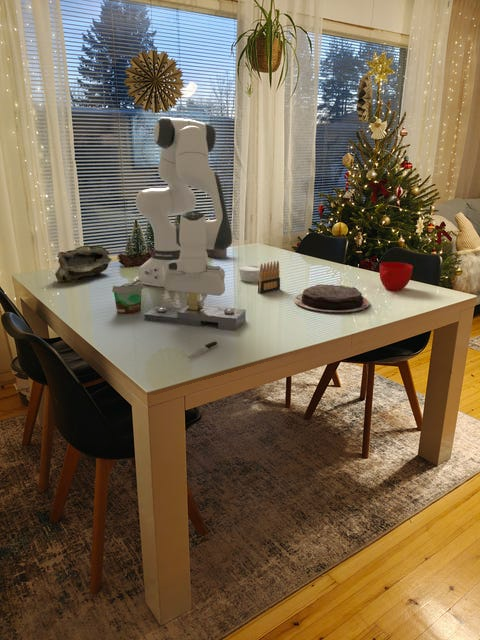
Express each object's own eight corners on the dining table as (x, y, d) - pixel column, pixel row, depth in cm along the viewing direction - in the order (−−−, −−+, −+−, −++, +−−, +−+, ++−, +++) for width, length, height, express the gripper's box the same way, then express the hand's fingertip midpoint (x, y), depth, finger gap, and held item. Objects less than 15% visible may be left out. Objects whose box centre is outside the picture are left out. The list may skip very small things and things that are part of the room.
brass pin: (188, 315, 163) (188, 292, 161) (192, 312, 166) (191, 289, 163) (197, 316, 162) (196, 293, 160) (200, 313, 165) (200, 290, 162)
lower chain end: (144, 319, 165) (143, 311, 164) (158, 311, 174) (157, 303, 173) (200, 326, 159) (200, 317, 158) (211, 317, 168) (211, 308, 167)
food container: (127, 317, 167) (125, 288, 164) (114, 314, 170) (111, 286, 167) (151, 308, 177) (150, 281, 174) (139, 305, 180) (137, 278, 177)
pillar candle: (206, 258, 261) (206, 229, 256) (210, 254, 270) (211, 226, 266) (224, 259, 260) (225, 230, 255) (228, 255, 269) (228, 227, 264)
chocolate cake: (291, 293, 200) (291, 277, 198) (361, 294, 199) (362, 278, 197) (296, 314, 173) (297, 296, 171) (377, 316, 172) (379, 298, 170)
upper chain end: (177, 323, 161) (177, 309, 160) (189, 314, 170) (189, 300, 169) (236, 330, 156) (236, 315, 154) (245, 321, 165) (245, 306, 163)
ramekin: (265, 277, 223) (265, 265, 221) (263, 283, 213) (263, 271, 211) (240, 276, 224) (240, 264, 223) (237, 282, 214) (237, 270, 212)
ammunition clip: (260, 293, 197) (261, 264, 193) (257, 292, 198) (258, 263, 194) (280, 289, 203) (281, 260, 199) (277, 288, 204) (278, 259, 201)
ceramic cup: (366, 290, 203) (369, 266, 200) (386, 283, 214) (389, 260, 211) (396, 297, 194) (399, 272, 191) (415, 289, 206) (418, 265, 203)
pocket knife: (216, 345, 144) (216, 338, 144) (219, 345, 144) (219, 339, 143) (186, 360, 134) (186, 353, 133) (188, 361, 133) (188, 354, 132)
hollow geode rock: (108, 281, 232) (92, 255, 235) (121, 264, 225) (104, 238, 227) (57, 292, 210) (39, 263, 212) (69, 274, 203) (51, 245, 205)
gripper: (227, 264, 159) (227, 306, 163) (169, 260, 164) (170, 300, 169) (221, 269, 153) (221, 311, 157) (160, 263, 159) (162, 305, 163)
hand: (194, 305), depth 163 cm, fingers closed on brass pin, 3 cm apart
